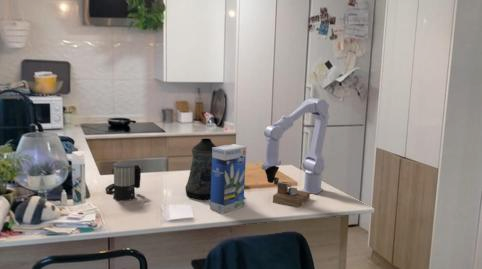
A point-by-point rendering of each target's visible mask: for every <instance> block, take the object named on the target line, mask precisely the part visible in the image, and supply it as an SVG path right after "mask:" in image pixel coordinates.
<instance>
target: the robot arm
mask: <svg viewBox="0 0 482 269" xmlns="http://www.w3.org/2000/svg"><path fill="white" fill-rule="evenodd" d="M329 105H330V104H328V102H327V101H326V100H325V99H321V98H315V97H311V96H310V97H308V98H306V100H303V102H302V104H301V105H300V106H298V107H297V108H296V109H295V110H294V111H293V112H291V113H290V114H289V115H282V116H281V117H280V119H278V120H277V121H276V122H273V123H272V125H268V126H267V127H266V128H265V130H263V131H264V132H263V133H264V136H265V138H266V139H265V141H266V142H265V161H264V163H263V164H262V165H261V170H264V171H265V176H266V179H267V182H268V183H269V184H270V183H271V184H274V178H275V177H276V175H277V173H278V171H279V169H280V167H279V166H281V164H282V160H281V159H279V154H280V140H281V138H282V137H283V135H284V133H285V132H287V131H288V130H290V129H291V128H292V127H293V126H294V123H295V122H296V121H298V119H300V118H301V117H302V116H305V115H306V114H309V113H310V114H312V115H313V116H314V118H315V123H314V128H313V133H312V138H311V143H310V149H309V151H308V152H307V153H306V154H305V157H304V159H303V161H302V167H303V169H304V183H303V189H301V190H300V191H305V192H310V194H312V195H318V194H319V193H321V192H322V191H323V189H324V188H322V179H323V176H322V173H323V172H324V170H325V157H324V156H323V154H322V152H323V148H324V142H325V137H326V134H327V133H326V131H327V127H328V122H329V118H330V117H329V107H330V106H329Z"/></svg>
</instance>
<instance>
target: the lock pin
mask: <svg viewBox="0 0 482 269" xmlns="http://www.w3.org/2000/svg"><path fill="white" fill-rule="evenodd" d="M279 179H280V178H279V177H277V176H275V178H274V182H273V185H276V186H278V183H281V184H285V187H288V188H291V187H292V183H289V182H288V183H282V182H281V181H279Z"/></svg>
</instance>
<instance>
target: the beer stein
mask: <svg viewBox="0 0 482 269" xmlns="http://www.w3.org/2000/svg"><path fill="white" fill-rule="evenodd" d="M213 147H217V146H216V145H215V144H214V142H212V139H210V138H201V140H200V141H199V142H198V143H197V144H196V145H195V146H193V147H192V148H191V153H192V158H191V160H192V161H191V163H190V164H191V165H190V170H189V175H188V179H187V182H186V185H185V193H186V194H185V195H186V197H187V198H189V199H192V200H196V201H210V199H211V173H212V148H213Z"/></svg>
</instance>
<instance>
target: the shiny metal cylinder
mask: <svg viewBox="0 0 482 269" xmlns="http://www.w3.org/2000/svg"><path fill="white" fill-rule="evenodd" d="M288 189H289V194H288V195H291V196H296V195H297V190H298V188H296V187H292V186H291V187H288Z"/></svg>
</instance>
